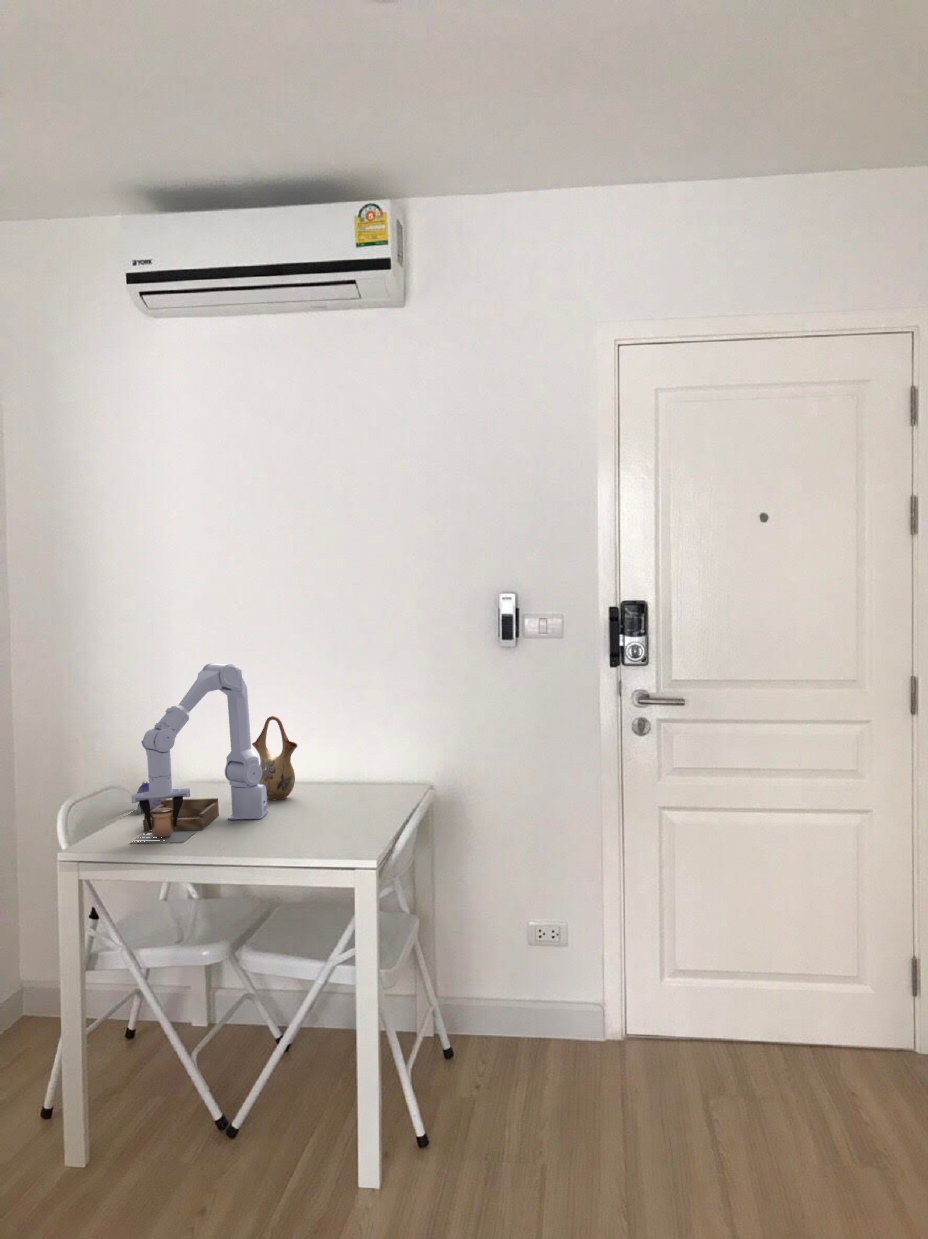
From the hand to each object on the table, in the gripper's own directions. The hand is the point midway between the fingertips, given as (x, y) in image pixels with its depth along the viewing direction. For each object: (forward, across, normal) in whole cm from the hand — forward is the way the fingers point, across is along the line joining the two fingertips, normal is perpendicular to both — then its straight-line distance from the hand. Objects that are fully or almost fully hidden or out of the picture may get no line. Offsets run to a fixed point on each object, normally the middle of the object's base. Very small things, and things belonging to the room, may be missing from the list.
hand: (162, 827), depth 262 cm
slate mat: (+3, 0, 0) cm, 3 cm away
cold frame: (+3, -6, -14) cm, 15 cm away
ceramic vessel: (+3, -35, -31) cm, 47 cm away
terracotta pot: (+2, 0, -1) cm, 2 cm away
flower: (+3, +2, -34) cm, 34 cm away
